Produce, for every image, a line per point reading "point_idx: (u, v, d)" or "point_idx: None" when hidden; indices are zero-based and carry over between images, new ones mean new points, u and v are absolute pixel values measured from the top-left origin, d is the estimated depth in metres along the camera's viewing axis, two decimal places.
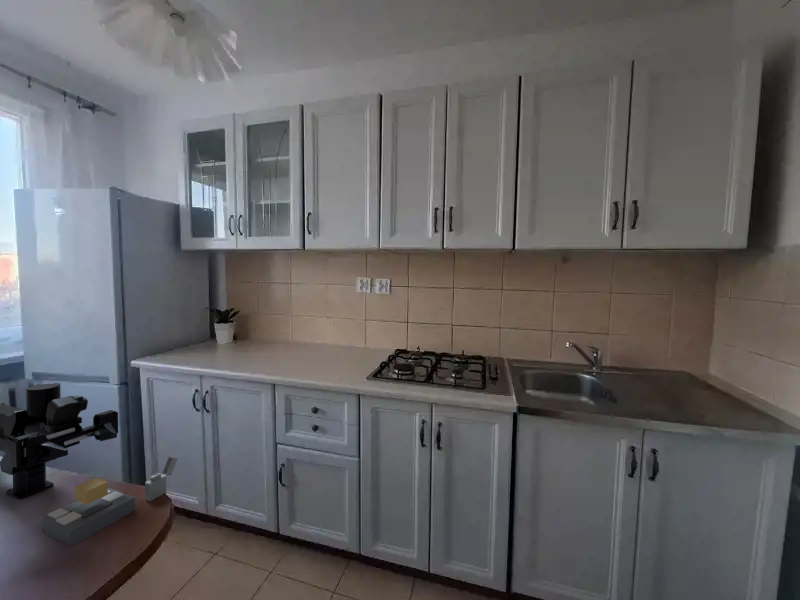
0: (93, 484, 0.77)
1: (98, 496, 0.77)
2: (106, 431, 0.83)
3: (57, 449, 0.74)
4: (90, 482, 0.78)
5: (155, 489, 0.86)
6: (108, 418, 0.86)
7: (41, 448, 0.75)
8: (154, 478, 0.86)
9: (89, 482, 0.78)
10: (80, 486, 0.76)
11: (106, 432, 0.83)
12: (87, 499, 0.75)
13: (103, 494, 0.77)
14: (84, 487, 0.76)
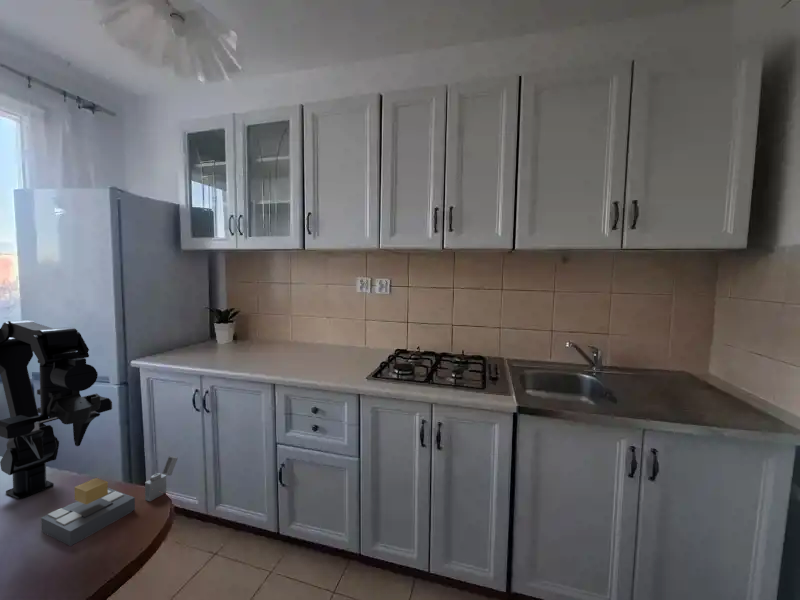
0: (93, 484, 0.77)
1: (98, 496, 0.77)
2: (78, 430, 0.84)
3: (38, 451, 0.77)
4: (90, 482, 0.78)
5: (155, 489, 0.86)
6: (92, 419, 0.85)
7: None
8: (154, 478, 0.86)
9: (89, 482, 0.78)
10: (80, 486, 0.76)
11: (77, 431, 0.84)
12: (87, 499, 0.75)
13: (103, 494, 0.77)
14: (84, 487, 0.76)
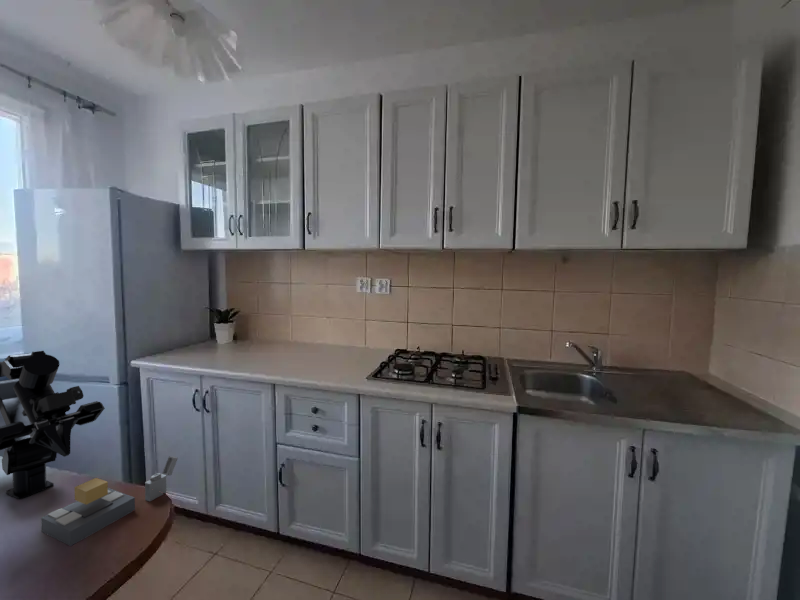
0: (93, 484, 0.77)
1: (98, 496, 0.77)
2: (62, 440, 0.81)
3: (60, 447, 0.79)
4: (90, 482, 0.78)
5: (155, 489, 0.86)
6: (71, 423, 0.82)
7: None
8: (154, 478, 0.86)
9: (89, 482, 0.78)
10: (80, 486, 0.76)
11: (62, 441, 0.81)
12: (87, 499, 0.75)
13: (103, 494, 0.77)
14: (84, 487, 0.76)
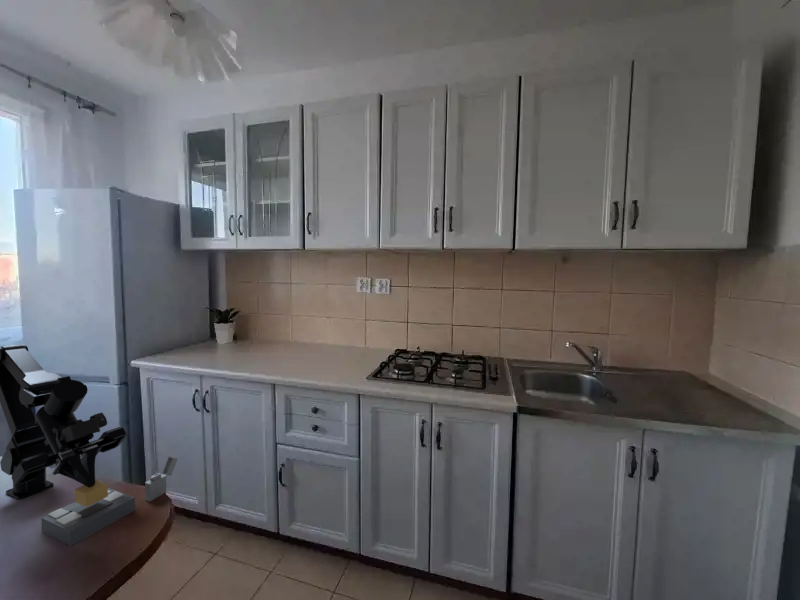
0: (93, 486, 0.77)
1: (98, 498, 0.77)
2: (86, 470, 0.78)
3: (84, 478, 0.76)
4: None
5: (155, 489, 0.86)
6: (95, 452, 0.79)
7: None
8: (154, 478, 0.86)
9: None
10: (81, 489, 0.76)
11: (86, 471, 0.78)
12: (87, 501, 0.75)
13: (103, 496, 0.77)
14: (85, 489, 0.76)
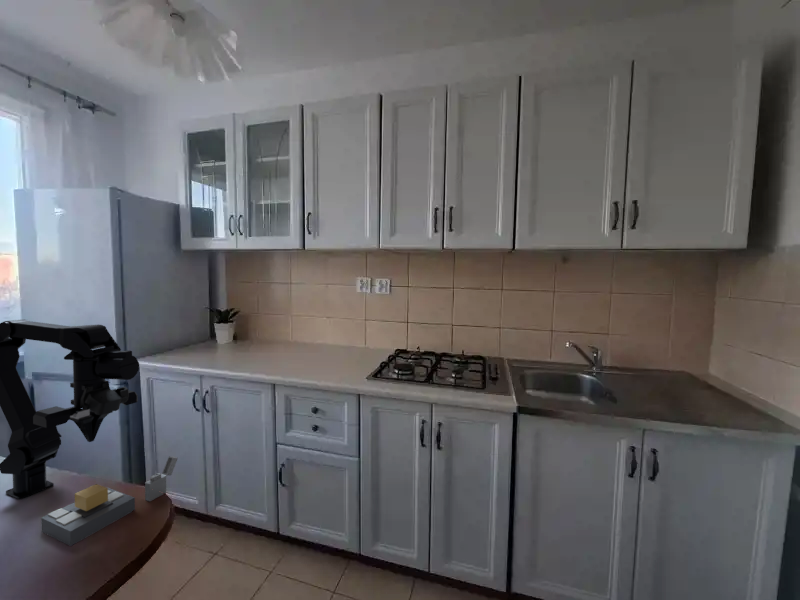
0: (93, 491, 0.77)
1: (98, 503, 0.77)
2: (92, 426, 0.86)
3: (88, 435, 0.85)
4: (90, 488, 0.78)
5: (155, 489, 0.86)
6: (106, 415, 0.87)
7: None
8: (154, 478, 0.86)
9: (89, 489, 0.78)
10: (81, 493, 0.76)
11: (91, 426, 0.86)
12: (87, 506, 0.75)
13: (103, 500, 0.77)
14: (85, 493, 0.76)
